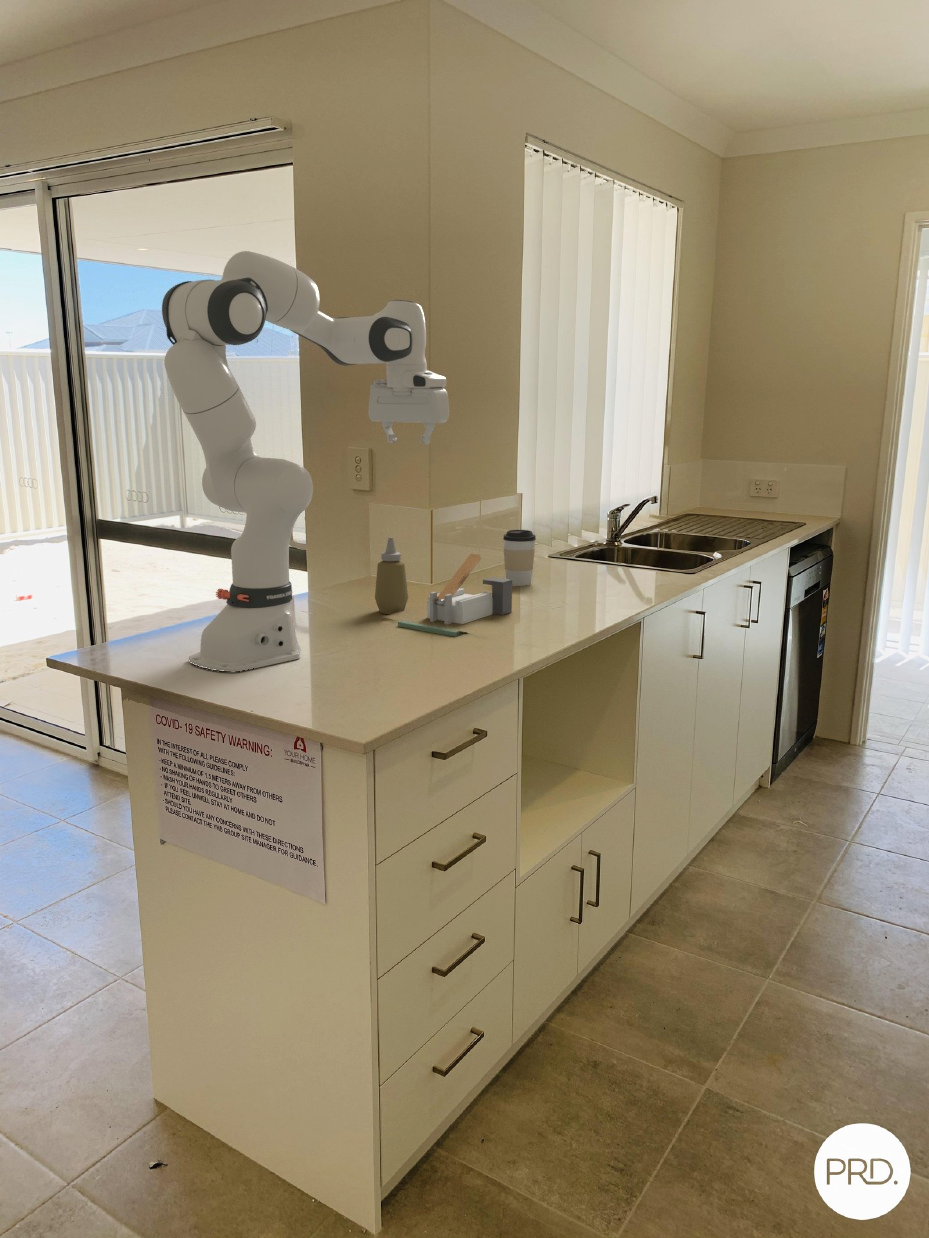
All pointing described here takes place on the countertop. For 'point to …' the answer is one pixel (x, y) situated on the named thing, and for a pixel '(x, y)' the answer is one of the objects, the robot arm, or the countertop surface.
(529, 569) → the coffee cup
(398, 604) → the squeeze bottle
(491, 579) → the block
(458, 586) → the strap
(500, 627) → the countertop surface
